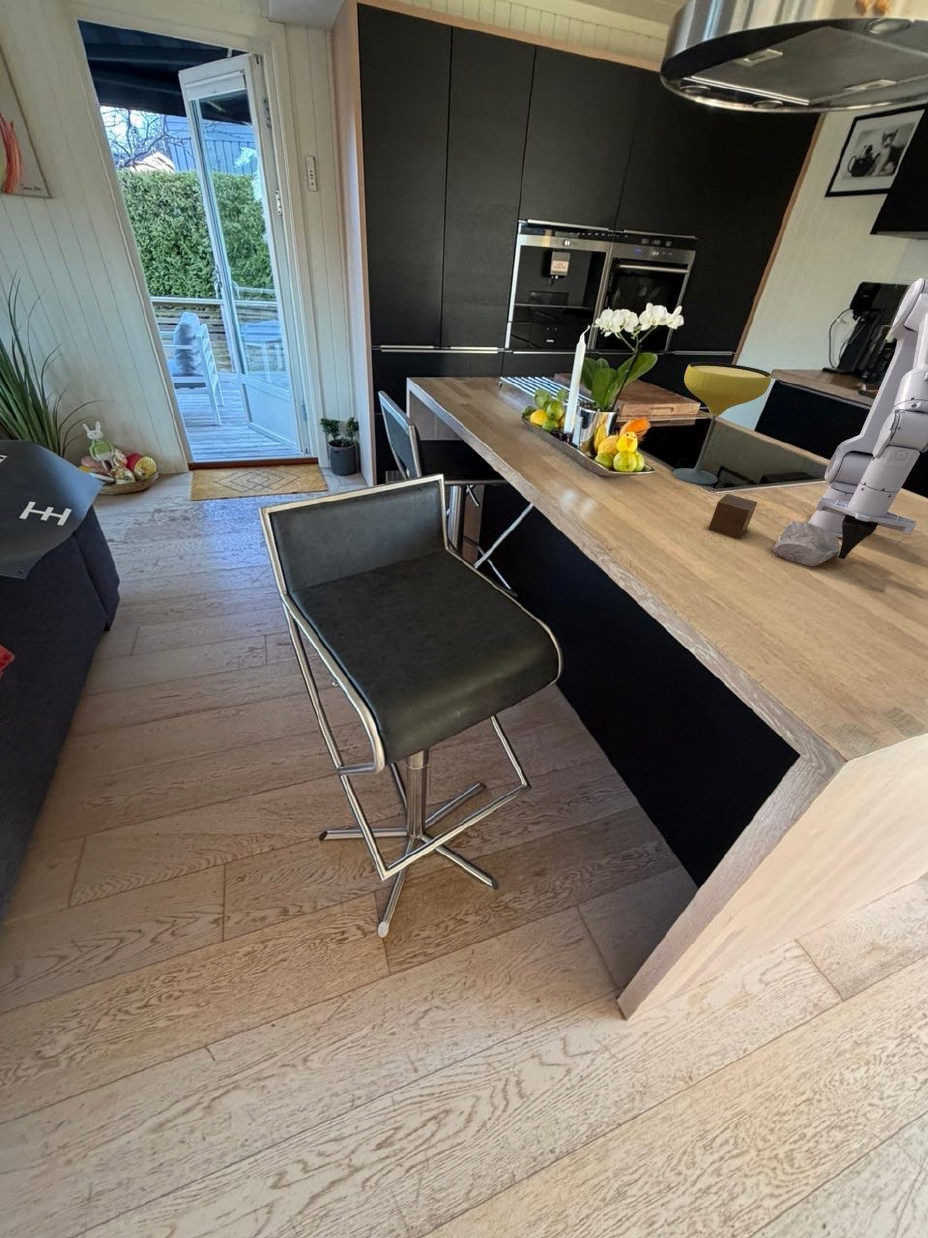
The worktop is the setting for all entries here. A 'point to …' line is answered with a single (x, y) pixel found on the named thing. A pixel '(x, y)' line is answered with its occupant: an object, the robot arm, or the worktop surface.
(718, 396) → the cocktail glass
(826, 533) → the grey rock
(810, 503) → the worktop surface
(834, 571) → the worktop surface
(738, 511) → the walnut cube
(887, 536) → the worktop surface
